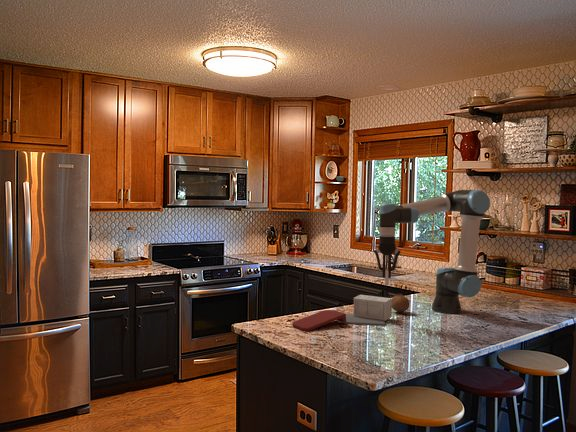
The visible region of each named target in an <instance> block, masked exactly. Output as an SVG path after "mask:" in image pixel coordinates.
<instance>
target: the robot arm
mask: <svg viewBox="0 0 576 432" xmlns="http://www.w3.org/2000/svg"><path fill="white" fill-rule="evenodd" d="M490 207H491V200H490V196H489V195H488V194H487V193H486V192H485V191H483V190H480V189H458V190H454V191H451V192H447V193H443V194H440V195H439V197H437V196H436V197H434V198H433V197H432V198H428V199H424V200H419V201H414V202H410V203H409V202H408V203H404V204H400V205H399V204H398V205H397V204H396V203H381V204H380V207H379V235H380V236H379V240H378V246H377V248H376V249H373V253H374V254H375V259H376V261H377V267H378V270H380V271H382V276H381V277H382V278H383V279H384V286H389V279H391V275H392V271H395V270H396V266H397V263H398V259H399V256H400V255H401V252H402V251H401V250H399V249H397V246H396V225H397V224H415V223H417V222H418V221H419V218H420V217H421V216H426V215H430V214H434V213H439V212H440V213H441V212H443V213H449V212H459V216H460V218H461V228H460V229H461V231H460V238H459V249H458V255H457V258H458V259H457V265H456V266H455V267H438V268H437V269H436V275H435V277H436V279H435V280H436V281H435V297H434V299H433V302H432V305H431V310H432V311H434V312H437V313H441V314H442V313H443V314H460V313H462V305H461V301H460V298H459V296H460V297H464V298H465V297H466V298H473V297H475V296H477V294H479V292H480V291H481V288H482V281H481V279H480V277H479V276H478V274H479V273H478V272H479V271H478V270H477V268H476V262H477V253H478V243H479V234H480V233H479V232H480V227H481V226H480V224H481V220H483V219H484V217H485V214H486V213H487V212H488V211H489V210H490ZM380 253H381V255H382V264H381V259H380V255H379V254H380ZM394 253H395V254H394ZM393 254H394V258H393V262H392V255H393ZM386 261H387V262H386ZM386 265H387V267H386ZM386 268H387V270H386Z"/></svg>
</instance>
